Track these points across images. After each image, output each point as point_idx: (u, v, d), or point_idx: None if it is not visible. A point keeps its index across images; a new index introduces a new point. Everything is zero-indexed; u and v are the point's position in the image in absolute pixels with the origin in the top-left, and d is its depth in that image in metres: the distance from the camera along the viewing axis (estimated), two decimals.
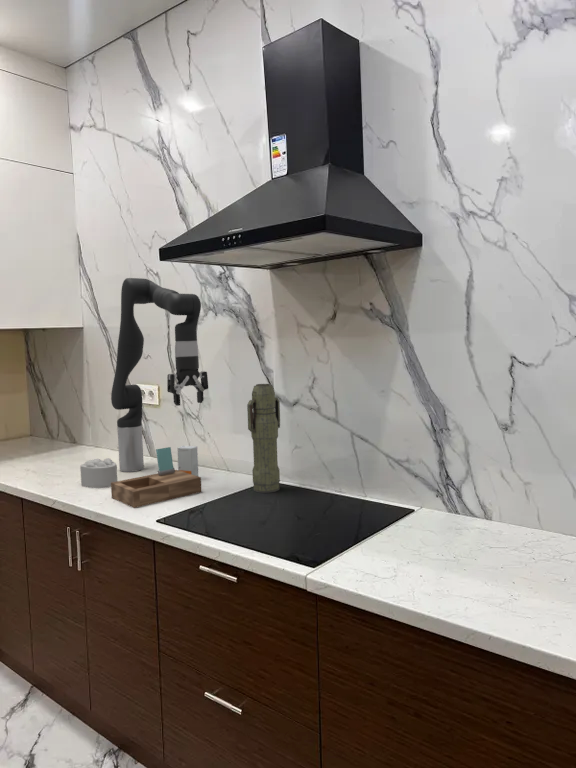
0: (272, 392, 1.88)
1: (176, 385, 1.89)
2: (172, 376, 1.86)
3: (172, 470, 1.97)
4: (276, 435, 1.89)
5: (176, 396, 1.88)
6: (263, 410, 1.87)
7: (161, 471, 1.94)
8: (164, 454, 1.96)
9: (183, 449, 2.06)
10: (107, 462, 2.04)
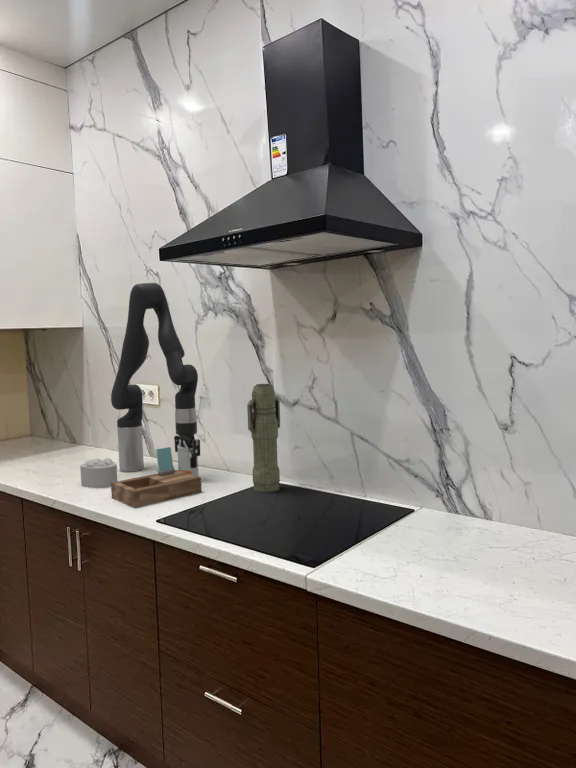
0: (272, 392, 1.88)
1: (190, 449, 2.05)
2: None
3: (172, 470, 1.97)
4: (276, 435, 1.89)
5: None
6: (263, 410, 1.87)
7: (161, 471, 1.94)
8: (164, 454, 1.96)
9: (183, 449, 2.06)
10: (107, 462, 2.04)
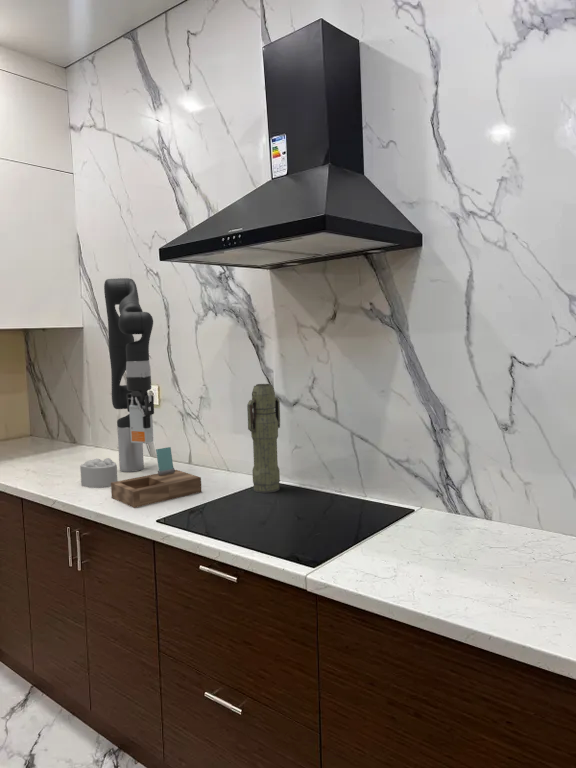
0: (272, 392, 1.88)
1: (143, 407, 1.81)
2: None
3: (172, 470, 1.97)
4: (276, 435, 1.89)
5: None
6: (263, 410, 1.87)
7: (161, 471, 1.94)
8: (164, 454, 1.96)
9: (135, 407, 1.83)
10: (107, 462, 2.04)
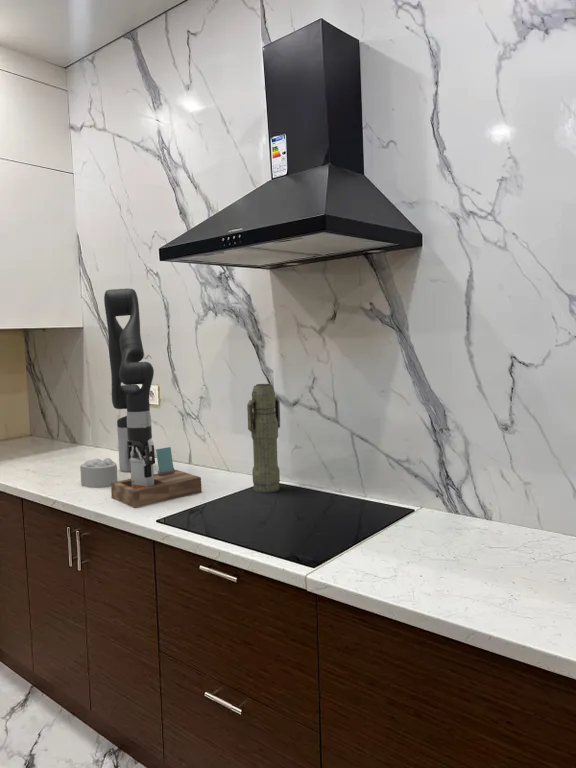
0: (272, 392, 1.88)
1: (144, 457, 1.82)
2: None
3: (172, 470, 1.97)
4: (276, 435, 1.89)
5: None
6: (263, 410, 1.87)
7: (161, 471, 1.94)
8: (164, 454, 1.96)
9: (136, 461, 1.84)
10: (107, 462, 2.05)
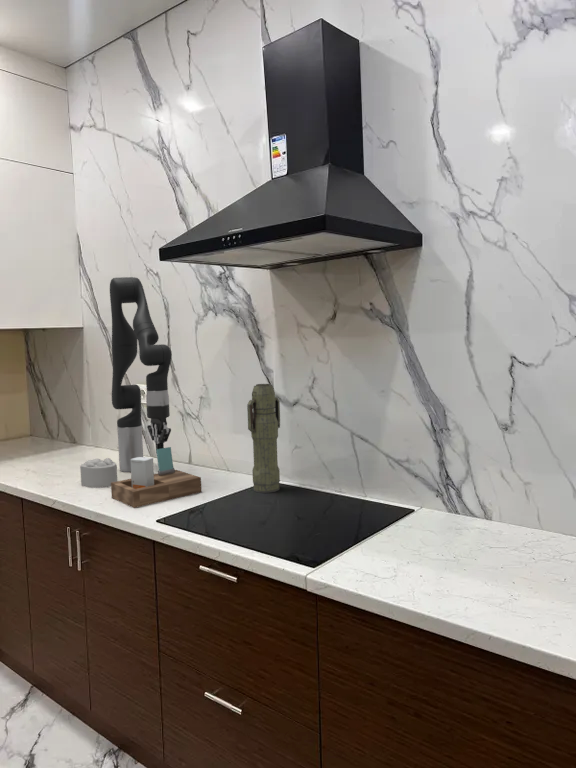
0: (272, 392, 1.88)
1: (159, 436, 1.96)
2: None
3: (172, 470, 1.97)
4: (276, 435, 1.89)
5: None
6: (263, 410, 1.87)
7: (161, 471, 1.94)
8: (164, 454, 1.96)
9: (136, 461, 1.84)
10: (107, 462, 2.05)
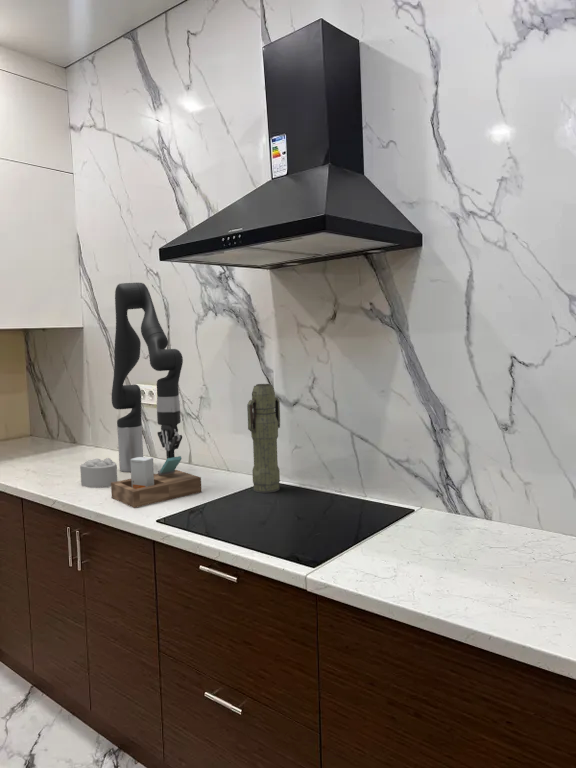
0: (272, 392, 1.88)
1: (170, 443, 1.91)
2: None
3: (172, 472, 1.97)
4: (276, 435, 1.89)
5: None
6: (263, 410, 1.87)
7: (161, 473, 1.94)
8: (172, 463, 1.92)
9: (136, 461, 1.84)
10: (107, 462, 2.05)
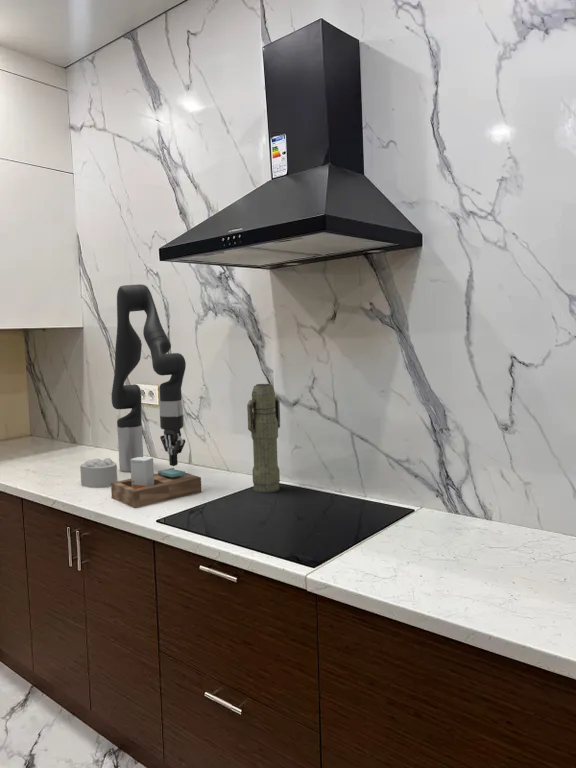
0: (272, 392, 1.88)
1: (173, 447, 1.91)
2: None
3: None
4: (276, 435, 1.89)
5: None
6: (263, 410, 1.87)
7: (161, 474, 1.95)
8: None
9: (136, 461, 1.84)
10: (107, 462, 2.05)
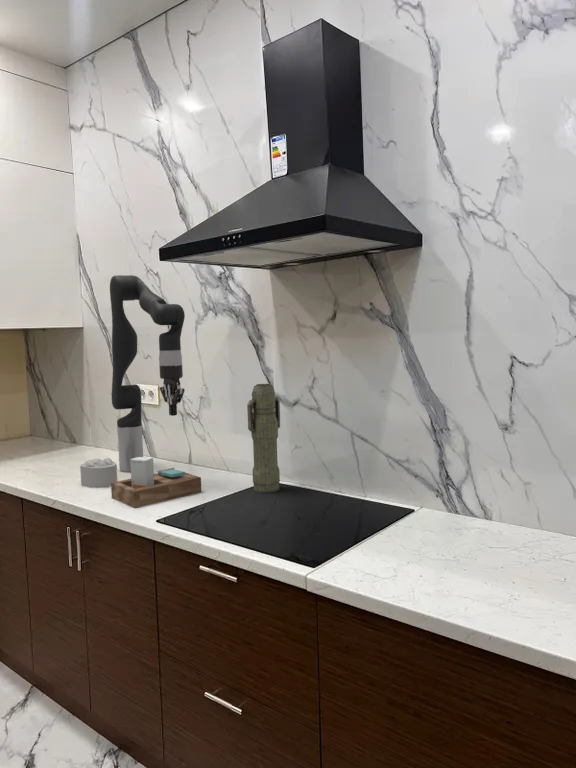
0: (272, 392, 1.88)
1: (172, 396, 1.94)
2: None
3: None
4: (276, 435, 1.89)
5: None
6: (263, 410, 1.87)
7: (161, 474, 1.95)
8: None
9: (136, 461, 1.84)
10: (107, 462, 2.05)
